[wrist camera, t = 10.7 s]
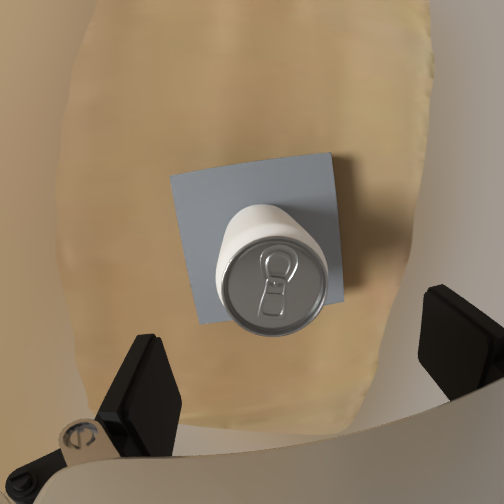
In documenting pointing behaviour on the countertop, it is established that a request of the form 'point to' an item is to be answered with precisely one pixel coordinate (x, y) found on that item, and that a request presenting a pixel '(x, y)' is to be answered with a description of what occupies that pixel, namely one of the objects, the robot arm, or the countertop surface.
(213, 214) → the base block
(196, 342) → the countertop surface
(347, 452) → the robot arm
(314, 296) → the can
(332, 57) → the countertop surface
